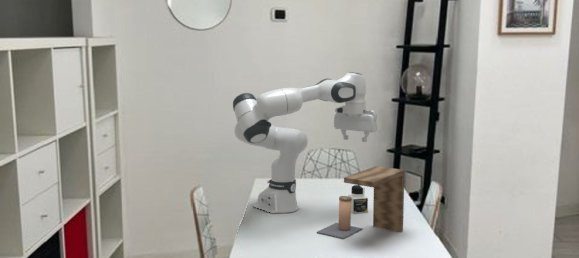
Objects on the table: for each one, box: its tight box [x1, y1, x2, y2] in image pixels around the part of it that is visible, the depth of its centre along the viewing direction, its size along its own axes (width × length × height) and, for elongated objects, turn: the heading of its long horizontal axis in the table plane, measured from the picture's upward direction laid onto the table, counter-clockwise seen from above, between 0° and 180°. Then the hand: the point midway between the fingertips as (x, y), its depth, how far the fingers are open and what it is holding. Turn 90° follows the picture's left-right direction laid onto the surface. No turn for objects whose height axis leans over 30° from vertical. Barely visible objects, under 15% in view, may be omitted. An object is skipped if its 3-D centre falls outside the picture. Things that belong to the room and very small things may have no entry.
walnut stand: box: [343, 165, 405, 233], centre depth 230 cm, size 13×26×26 cm, turn 143°
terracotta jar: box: [337, 195, 352, 230], centre depth 239 cm, size 5×5×13 cm
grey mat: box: [316, 222, 363, 240], centre depth 238 cm, size 13×15×1 cm
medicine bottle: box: [347, 184, 369, 214], centre depth 266 cm, size 7×7×12 cm
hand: (355, 140), depth 252 cm, fingers open, 8 cm apart
